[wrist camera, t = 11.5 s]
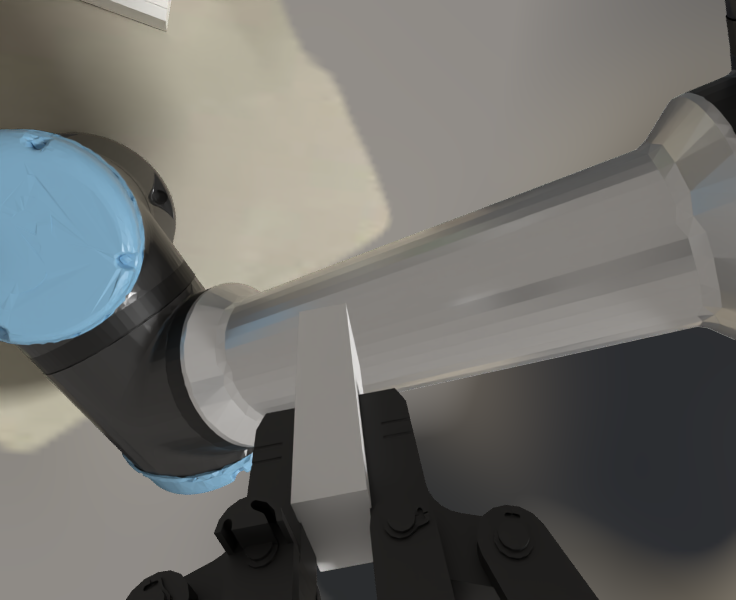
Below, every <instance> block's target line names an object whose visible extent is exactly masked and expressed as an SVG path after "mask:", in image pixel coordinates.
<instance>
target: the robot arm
mask: <svg viewBox="0 0 736 600" xmlns="http://www.w3.org/2000/svg"><path fill="white" fill-rule="evenodd" d="M725 5H726V22H727V28H728V37H729V43H730V58H731V72H730V73H729V74H728V75H726V76H724V77H722V78H720V79H718V80H715V81H713V82H710V83H708V84H705V85H703V86H701V87H698V88H696V89H693V90H691V91H689V92H686V93H684V94H681V95H679V96H677V97H675V98H673V99H672V100H671V101H670V102H669V103H668V105H667V106H666V108H665V109H664V111H663V113H662V114H661V116H660V117H659V120H658V121H657V122H656V124H655V126H654V127H653V129H652V131H651V132H650V134H649V135H648V137H647V139H646V140H645V141H644V142H643V143H642V144H641V146H639V147H638V148H637V149H636V150H634V151H631V152H629V153H626V154H623V155H621V156H618V157H615V158H613V159H610V160H608V161H605V162H602V163H600V164H597V165H595V166H592V167H589V168H587V169H584V170H581V171H579V172H576V173H574V174H571V175H568V176H566V177H563V178H560V179H558V180H555V181H552V182H550V183H547V184H545V185H542V186H539V187H537V188H534V189H532V190H529V191H526V192H524V193H521V194H518V195H516V196H513V197H510V198H508V199H505V200H503V201H500V202H497V203H495V204H492V205H489V206H487V207H484V208H482V209H479V210H476V211H474V212H471V213H468V214H466V215H463V216H460V217H458V218H455V219H453V220H450V221H447V222H445V223H442V224H439V225H437V226H434V227H431V228H429V229H426V230H424V231H421V232H418V233H416V234H413V235H410V236H408V237H405V238H403V239H400V240H397V241H395V242H392V243H389V244H387V245H384V246H382V247H379V248H376V249H374V250H371V251H368V252H366V253H363V254H361V255H358V256H355V257H353V258H350V259H347V260H345V261H342V262H339V263H337V264H334V265H332V266H329V267H326V268H324V269H321V270H318V271H316V272H313V273H311V274H308V275H305V276H303V277H300V278H297V279H295V280H292V281H290V282H287V283H284V284H282V285H279V286H276V287H274V288H271V289H269V290H266V291H263V292H260V291H258V290H256V289H254V288H253V287H250V286H248V285H245V284H240V283H225V284H220V285H217V286H214V287H212V288H210V289H207V290H205V289H204V287H203V286H202V284H201V283H200V282H199V280H198V279H197V278H196V276H195V274H194V273H193V271H192V270H191V269H190V267H189V266H188V265H187V263H186V262H185V260H184V259H183V257H182V256H181V255H180V253H179V252H178V251H177V249H176V248H175V246H174V245H173V244H172V243H173V240H174V235H175V229H176V215H175V208H174V204H173V200H172V197H171V195H170V192H169V190H168V188H167V186H166V184H165V183H164V181H163V180H162V178H161V177H160V175H159V174H158V173H157V171H156V170H155V169H154V168H153V167H152V166H151V165H150V164H149V163H148V162H147V161H146V160H144V159H143V158H142V157H141V156H139V155H138V154H137V153H135V152H134V151H132V150H131V149H129V148H127V147H126V146H124V145H122V144H120V143H118V142H115V141H113V140H110V139H107V138H104V137H101V136H97V135H92V134H86V133H58V134H54V133H49V132H44V131H39V130H31V129H0V341H3V342H6V343H11V344H15V345H16V346H17V347H18V348H19V349H20V350H21V351H22V352H23V353H24V354H25V355H26V356H27V357H29V358H30V359H31V360H32V361H33V362H34V363H35V364H36V365H37V366H38V367H39V368H40V369H41V370H42V371H43V374H44V375H45V376H46V377H47V378H48V379H49V380H50V381H51V382H52V383H53V384H54V385H55V386H56V387H57V388H58V389H59V390H60V391H61V392H62V393H63V394H64V395H65V396H66V397H67V398H68V399H69V400H70V401H71V402H72V403H73V404H74V405H75V406H76V407H77V408H78V409H79V410H80V411H81V412H82V413H83V414H84V415H85V416H86V417H87V418H88V419H89V420H90V421H91V422H92V423H93V424H94V425H95V426H96V427H97V428H98V429H99V430H100V431H101V432H102V433H103V434H104V435H105V436H106V437H107V438H108V439H109V440H110V441H111V442H112V443H113V444H114V445H115V446H116V447H117V448H118V449H119V450H120V451H121V452H122V455H123V457H124V458H125V459H126V461H127V462H128V463H129V465H130V466H131V467H132V468H133V469H134V470H136V471H137V472H138V473H142V474H143V476H145V477H148V478H149V479H151V480H152V481H153V482H154V483H155V484H156V485H157V486H159V487H160V488H162V489H164V490H166V491H169V492H172V493H176V494H185V495H188V494H189V495H191V494H199V493H205V492H209V491H212V490H215V489H218V488H221V487H223V486H225V485H227V484H229V483H231V482H233V481H234V480H235V478H236V475H237V474H238V472H240V471H243V470H244V471H246V472H249V471H250V470H251V471H250V479H249V486H248V495H247V497H245V498H243V499H240V500H238V501H237V502H236V503H234V504H233V505H232V506H230V507H229V508H228V509H227V510H226V512H225V513H224V514H223V515H222V517H221V518H220V519H219V522H218V524H217V527H216V529H215V532H214V534H215V535H216V537H217V539H218V540H219V542H220V543H221V545H222V546H223V548H224V549H225V551H226V552H225V553H224V554H222V555H221V556H220V557H218V558H217V559H215V560H214V561H212V562H210V563H209V564H207V565H205V566H203V567H201V568H199V569H197V570H195V571H194V572H192V573H190V574H188V575H186V576H184V577H183V576H182V575H181V574H179V573H177V572H174V571H171V570H170V571H163V572H158V573H156V574H154V575H152V576H150V577H148V578H146V579H144V580H143V581H142V582H141V583H140V584H139V585H138V586H137V587H136V588H135V589H133V590H132V592H131V593H130V595H129V596H128V597H127V599H126V600H321V596H320V591H319V588H318V586H317V565H318V567H319V569H320V571H321V572H322V571H327V570H332V569H337V568H343V567H348V566H354V565H359V564H364V563H370V562H373V564H374V574H375V582H376V592H377V600H599V599H598V598H597V597H596V595H595V594H594V592H593V591H592V590H591V588H590V587H589V586H588V585H587V583H586V582H585V580H584V579H583V577H582V576H581V575H580V573H579V572H578V571H577V569H576V568H575V567H574V565H573V564H572V562H571V561H570V560H569V558H568V557H567V555H566V554H565V553H564V552H563V550H562V549H561V547H560V546H559V545H558V543H557V542H556V540H555V539H554V538H553V536H552V535H551V534H550V532H549V531H548V530H547V528H546V527H545V526H544V524H543V523H542V522H541V521H540V520H539V519H538V518H537V517H536V516H535V515H534V514H533V513H531V512H529V511H527V510H525V509H523V508H521V507H517V506H509V505H504V506H500V507H495V508H492V509H491V510H490V511H488V512H487V513H486V514H484V515H483V516H476V515H470V514H463V513H458V512H455V511H451V510H449V509H447V508H445V507H443V506H441V505H440V504H439V503H438V502H437V501H436V500H434V498H433V497H432V496H431V494H430V493H429V491H428V488H427V486H426V483H425V479H424V475H423V471H422V466H421V463H420V458H419V454H418V450H417V445H416V441H415V437H414V433H413V429H412V425H411V421H410V416H409V413H408V408H407V404H406V400H405V399H404V398H403V397H402V396H401V395H400V394H399V392H402V391H407V390H411V389H416V388H420V387H424V386H429V385H434V384H438V383H443V382H447V381H452V380H456V379H461V378H466V377H470V376H474V375H479V374H484V373H488V372H493V371H497V370H502V369H506V368H511V367H516V366H520V365H525V364H529V363H534V362H538V361H542V360H547V359H552V358H556V357H561V356H565V355H570V354H575V353H579V352H583V351H588V350H593V349H597V348H602V347H606V346H610V345H615V344H620V343H624V342H629V341H633V340H638V339H643V338H647V337H652V336H656V335H661V334H665V333H670V332H674V331H679V330H683V329H688V328H693V327H697V326H698V327H705V328H709V329H712V330H714V331H716V332H718V333H721V334H723V335H725V336H727V337H730V338H732V339H734V340H736V0H725Z"/></svg>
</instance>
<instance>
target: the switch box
mask: <svg viewBox="0 0 736 600" xmlns="http://www.w3.org/2000/svg"><path fill="white" fill-rule="evenodd" d="M81 1H84V2H87V3H89V4H92V5H95V6H98V7H100V8H103V9H106V10H109V11H111V12H114V13H117V14H119V15H122V16H125V17H128V18H130V19H133V20H136V21H139V22H141V23H144V24H147V25H150V26H152V27H155V28H158V29H160V30H163V31H166V32H167V25H168V19H169V12H170V5H171V0H81Z"/></svg>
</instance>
